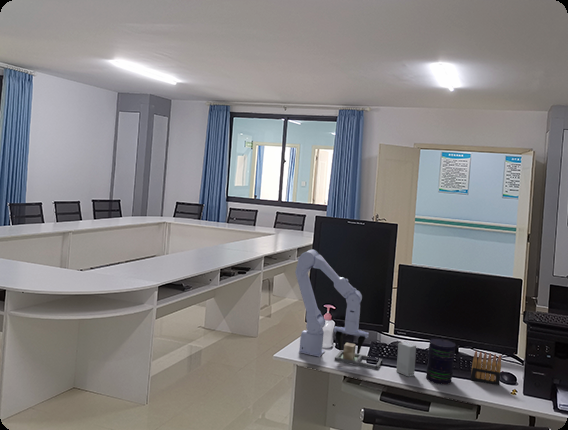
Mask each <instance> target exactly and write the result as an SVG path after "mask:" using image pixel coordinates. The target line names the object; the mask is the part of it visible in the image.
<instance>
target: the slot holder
mask: <svg viewBox="0 0 568 430" xmlns="http://www.w3.org/2000/svg"><path fill="white" fill-rule="evenodd" d="M343 352H344V350H339V352H338V353H337V355H335V357H334V361H335V362H340V363H346V364H350V365H354V366H360V367H364V368H369V369H373V370H378V369H379V368H380V366H381V365H382V363H381V361H382V362H383V358H380V357H375V358H376V359H378V358H379V361H378V362H377V363H376V364H372V363H366V362H362V360H363V359H364V360H367V358H368V357H369V355H366V354H360V353H359V354H357V352H355V358H354V359H353V360H348V359H343Z"/></svg>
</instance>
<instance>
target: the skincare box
mask: <svg viewBox="0 0 568 430" xmlns="http://www.w3.org/2000/svg"><path fill="white" fill-rule="evenodd" d="M416 353H417V345H415V344H413V343H409V342H408V341H402V342H401V341H400V342H398V344H397V357H396V370H395V371H396V373H399V374H401V375H404V376H406V377H413V376H414V375H415V367H416V358H417V357H416V355H417V354H416Z"/></svg>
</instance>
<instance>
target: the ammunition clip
mask: <svg viewBox="0 0 568 430" xmlns="http://www.w3.org/2000/svg"><path fill="white" fill-rule="evenodd" d="M487 357H488V358H487ZM471 365H472V367H471V373H470V378H471V379H470V381H474V382H478V383H485V384H489V385H494V386H500V382H501V371H502V370H501V369H502V355H501V354H499V355H498V359H497V355H496V353H494V354H493V358H492V353H490V352H489V353H488V355H487V351H485V352H484V353H483V354H482V351H480V352H479V354H478V351H477V350H475V352H474V353H473V359H472V364H471Z"/></svg>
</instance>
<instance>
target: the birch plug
mask: <svg viewBox="0 0 568 430" xmlns="http://www.w3.org/2000/svg"><path fill="white" fill-rule="evenodd" d="M356 345H357V344H355V343H351V342H345V344H343V351H344V352H343V354H342V355H343V359H348V360H353V359H354V358H355V353H356V348H357V347H356Z"/></svg>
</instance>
